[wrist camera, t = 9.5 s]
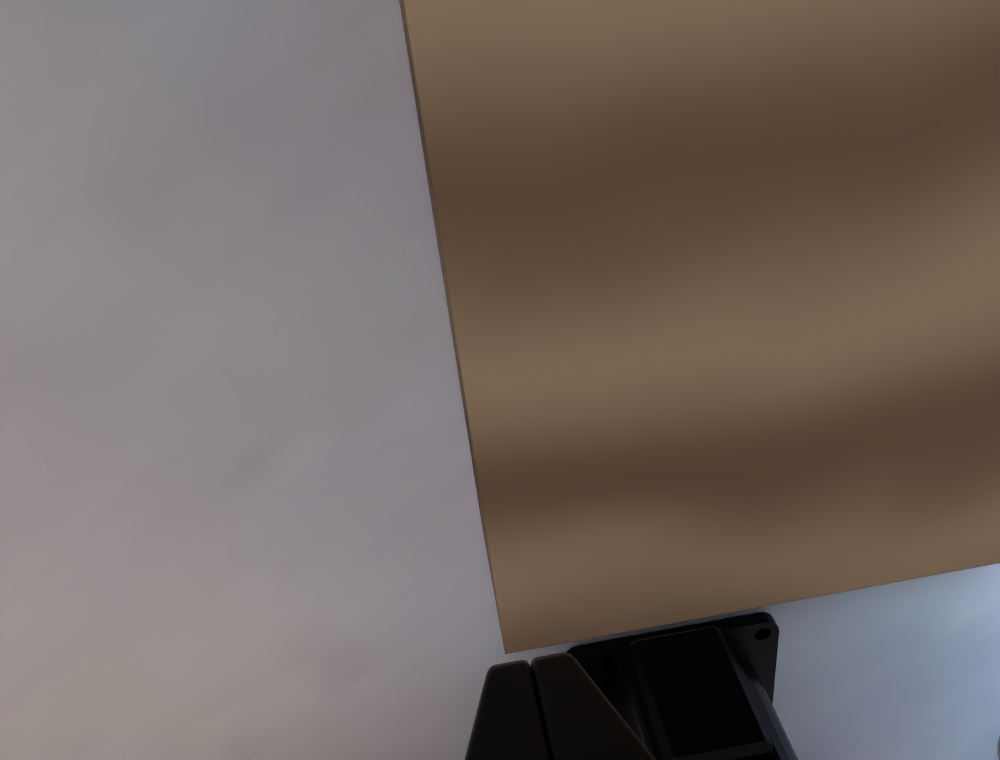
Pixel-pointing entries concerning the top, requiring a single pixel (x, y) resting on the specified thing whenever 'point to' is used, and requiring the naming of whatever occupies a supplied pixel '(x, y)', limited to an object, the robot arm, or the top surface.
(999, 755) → the lumpy-topped squat cylinder
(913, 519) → the flat brown block
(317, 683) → the top surface
